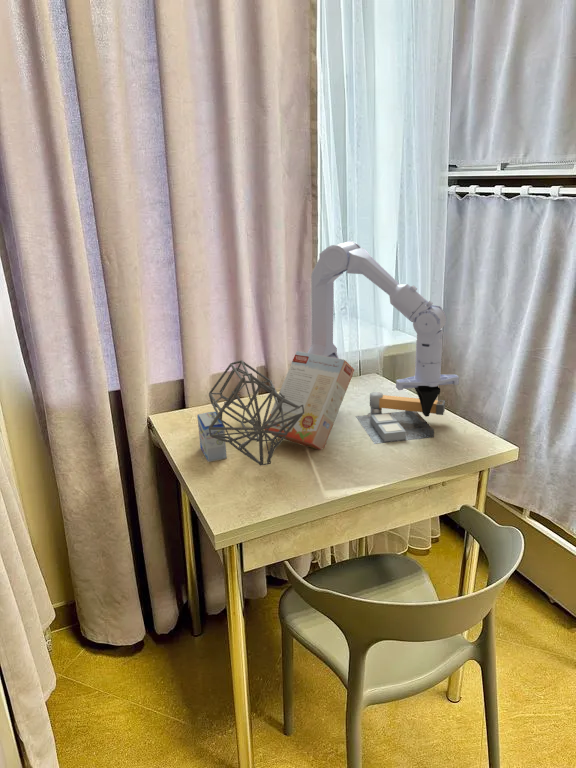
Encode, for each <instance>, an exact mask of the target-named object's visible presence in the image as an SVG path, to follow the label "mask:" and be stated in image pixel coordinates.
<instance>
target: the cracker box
mask: <svg viewBox="0 0 576 768" xmlns="http://www.w3.org/2000/svg"><path fill="white" fill-rule="evenodd" d="M338 358H339V357H338ZM338 358H333V357H327V356H322V355H316V354H311V353H308V352H305V351H300V350H299V351H298V350H296V352H295V354H294V357H293V359H292V361H291V364H290V367H289V368H288V371H287V373H286V376H285V378H284V380H283V383H282V384H281V387H280V389H279V391H278V395H279V396H281V395H280V394H279V393H281V394H282V395H284V396H285V399H287V400H288V401H290V402H292V403H294V404H296V405H298V406H301V405H303V407H304V414H303V415H302V416H301V417H300V419H299V420H298V421H297V422H296V424H295V425H294V426H293V427H292V429H291V430H290V431H289V432H288V434H287V435H286V436H285V435H278V437H277V439H281V438H282V437H283V436H285V439H284V441H288V442H290V443H293V444H297V445H300V446H303V447H308V448H311V449H314V450H318V451H319V450H322V449H324V448H325V446H326V444H327V441H328V438H329V436H330V434H331V431H332V428H333V426H334V424H335V421H336V418H337V416H338V414H339V410H340V407H342V406H341V405H342V402H343V400H344V399H345V398H344V397H345V396H346V393H347V390H348V388H349V385H350V382H351V380H352V377H353V374H354V372H355V369H354V368H353V366H351V364H350V363H348V362H347V360H346V359H343V358H339V359H338ZM281 397H282V396H281ZM276 400H277V399H276ZM277 401H278V400H277ZM276 407H277V404H276V401H275V400H274V404H273V405H272V408H271V411H270V412H269V413H270V414H268V418H269V417H270V415H271V414H272V413H273V411H274V410H275V408H276ZM282 409H283V414H285V413H287V412H289V411H291V410H293V409H295V407H293V406H291V405H288V404H286V403H282ZM302 412H303V410H302V407H300V408H299V409H296V410H294V411H292V412H290V413H288V414H286V415H284V419H287V418H289V417H292V416H295V415H297V414H300V413H302ZM278 413H279V409H278V410H277V412H276V413H275V414H274V416H273V417H272V419H271V420H270V421H272V420H274V418H275V417H276V416H277V414H278ZM279 416H281V413H280V414H279ZM279 416H278V417H279ZM281 420H282V418H279V419H277V420H275V421H274V423H276V422H278V421H281ZM292 420H293V419H292ZM292 420H289V421H286V422H284V425H286V424H288V423H289V422H290V421H292ZM271 423H272V422H271ZM271 423H269V424H267V425H270V424H271ZM291 425H292V424H291ZM291 425H289V426H288V427H286V428H285V430H286V431H287V429H288V428H289V427H290V426H291ZM282 427H283V426H282V423H281V424H278V425H275V426H272V427H270V428H269V430H268V431H275V432H279V430H280V429H281V428H282ZM264 430H267V429H264ZM282 433H285V432H284V430H282ZM271 435H272V436H273V437H274V436H275V435H276V434H271Z"/></svg>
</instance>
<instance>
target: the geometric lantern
mask: <svg viewBox="0 0 576 768" xmlns="http://www.w3.org/2000/svg"><path fill="white" fill-rule="evenodd" d="M236 364H238V367H235V366H234V365H236ZM241 366H242V368H243V369H241V368H240V367H241ZM230 368H232V369H231V371H230V373H229V375H228V377H227V378H226V380H225V381H224V382H223V385H222V387H221V388H220V390H219V392H214V391H215V389H216V388H217V386H218V385H219V384H220V382H221V381H222V380H223V378H224V377H225V375H226V374H227V373H228V371H229V370H230ZM247 368H248V369H250V370H251V371H253V372H254V373H255V374H257V375H258V376H259V377H261V378H262V379H264V380H265V381H262V380H260V379H259V378H257V377H255V376H254V375H253V373H252V372H251V373H249V372H248V369H247ZM234 374H236V375H237V377H238V378H239V382H238V383H237V385H236V387H235V388H234V389H233V390H231V394H230V396H229V397H226V396H224V395H223V392H224V390H225V389H226V387H227V385H228V383H229V382H230V381H231V379H232V377H233V375H234ZM241 374H242V376H241ZM246 377H247V379H248V380H246ZM266 383H269V384H270V385H268V384H266ZM248 384H250V385H251V389H252V394H253V395H252V396H251V393H250V390H249V387H248ZM255 385H256V386H257V388H256V387H255ZM244 386H245V388H246V392H247V395H248V399H249V402H248V403H247V404H246V405H245V403H244V402H243V401H242V399H241V398H240V396H239V395H238V394H239V392H240V391H241V390H242V388H243V387H244ZM261 388H262V389H263V390H264V391H266V392H267V393H269V394H268V395H267V397H266V398H265V399H264V401H263V402H262V404H261V405H260V406H259V403H258V398H257V397H258V396H257V395H258V393H259V391H260V389H261ZM210 389H211V390H210V391H209V392H208V397H209V401H210V404H211V405H212V407H213V410H214V412H216V414H217V416H216V417H215V419H214V420H213V422H212V423H211V425H210V426H209V433H210V436H211V437H212V438H215V439H218V440H221V441H224V442H225V443H228V444H229V445H231V446H232V447H234V449H236V450H237V451H238V452H240V453H242V455H245V456H246V457H248V458H249V459H251V460H252V461H254V462H255V463H256V464H258V465H259V466H262V467H263V466H267V465H271V464H272V460H271V459H272V457H273V455H274V453H275V450H276V448H277V447H278V446H279V445H280V444H281V443H282V442H283V440H284V439H285V436H286V435H287V434H288V432H289V431H290V430H291V429H292V427H293V426H294V425H295V424H296V422H297V421H298V420H299V419H300V417H301V416H302V415H303V414H304V407H303V405H301V406H298V405H296V404H294V403H292V402H290V401H288V400H287V399H285V396H284V395H282V394H281V393H279V392H277V389H276V388H275V386H274V384H273V382H272V380H271V379H270V378H268V377H266V376H265V375H263V374H262V373H261V372H259V371H258V370H256V369H255V368H254V367H253V366H251V365H249V364H248V363H246V362H245V361H243V360H236V361H234V362H230V363H229V365H228V366H227V367H226V369H225V371H223V373H222V374H221V376H220V377H219V378H218V380H217V381H216V383H215V384H214V385H213V387H212V388H210ZM278 394H280V395H281V396H282V397H281V396H279V395H278ZM213 395H220V397H218V398H217V399H216V398H215V397H214V396H213ZM273 398H274V402H275V401H276V404H277V407H276V408H275V410H274V411H273V413H272V414H271V415H270V414H269V413H270V412H269V411H270V407H271V404H272V401H273ZM221 399H223V400H225V401H224V403H223V405H222V407H221V406H220V405H219V403H218V402H219V401H220V400H221ZM276 399H277V400H278V401H277V400H276ZM235 400H237V401H238V402H236V401H235ZM253 401H254V404H253ZM267 402H268V403H267ZM266 403H267V406H266V410H265V414H264V417H263V420H261V414H260V413H261V410H262V409H263V407H264V406H265V404H266ZM282 403H286V404H288V405H291V406H293V407H295V409H293V410H291V411H289V412H287V413H285V414H283V409H282ZM230 405H234V406H236V407H238V408H240V409H242V414H241V413H240V412H238V411H236V410H235V409H234V408H232V407H230ZM250 407H251V409H252V412H253V415H252V412H251V411H250ZM254 407H255V408H254ZM300 407H302V410H303V412H302V413H300V414H297V415H295V416H292V417H289V418H287V419H284V415H286V414H288V413H290V412H292V411H294V410H296V409H299V408H300ZM225 409H228V410H229V411H230V412H231V413H233V414H235V415H237V416H238V417H239V418H241V420H240V419H239V418H237V417H235V416H234V415H233V414H231V413H230V412H228V411H227V410H225ZM278 409H279V413H278V414H277V416H276V417H275V418H274V420H272V421H270V420H271V419H272V417H273V416H274V414H275V413H276V412H277V410H278ZM245 413H246V414H247V415H248V416H249V418H250V419H248V418H247V417H245ZM280 413H281V416H279V414H280ZM223 414H225V415H227V416H229V417H231V418H232V419H233V420H236V422H238V423H240V425H241V426H240V427H238V426H237V427H236V426H233V425H231V424H229V423H228V422H226V421H224V420H223ZM269 415H270V417H269ZM278 416H279V417H278ZM267 417H268V418H267ZM218 418H219V420H220V421H221V423H222V425H223V427H213V426H214V424H215V423H216V421H217V420H218ZM279 418H282V420H281V421H278V422H276V423H274V421H275V420H277V419H279ZM292 419H293V420H292ZM289 420H292V421H290V422H289V423H288V424H286V425H284V422H286V421H289ZM271 422H272V423H271ZM247 423H248V424H250V425H251V426H252V427H247V426H245V424H247ZM269 423H271V424H270V425H267V424H269ZM281 423H282V426H283V427H282V428H281V429H280V430H279V432H275V431H268V430H269V428H270V427H272V426H275V425H278V424H281ZM291 424H292V425H291ZM225 425H226V426H225ZM289 425H291V426H290V427H289V428H288V429H287V431H286V430H285V428H286V427H288V426H289ZM264 429H267V430H264ZM211 430H225V432H226V433H225V434H218V435H213V434H211ZM282 430H284V432H285V433H282ZM229 431H236V432H231V433H230V432H229ZM269 434H271V435H272V434H276V435H275V436H273V437H271V436H270V435H269ZM222 435H225V436H222ZM230 435H241V436H238V437H237V436H236V437H234V438H233V437H232V436H230ZM278 435H285V436H283V437H282V438H279V440H278ZM224 438H225V439H224ZM244 438H245V439H246V438H247V439H248V440H246V441H244V442H242V443H241V442H239V440H242V439H244ZM252 441H256V442H258V446H259V447H258V448H259V451H258V452H259V459H257V458H256V456H254V454H252V453H251V452H250V451H249V450H248V449H247V448H246V447H247V446H248V445H249V444H250V443H251V442H252ZM284 441H285V440H284ZM264 442H265V445H266V450H267V459H266V463H264ZM268 442H271V443H270V447H269V444H268Z"/></svg>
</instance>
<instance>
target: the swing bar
mask: <svg viewBox="0 0 576 768" xmlns="http://www.w3.org/2000/svg"><path fill="white" fill-rule="evenodd" d="M369 406H370V408H371V407H372V408H382V409H387V410H396V411H397V410H398V411H415V412H418V413H423V412H422V406H421V403H420V399H419V397H418V398H415V397H406V396H399V395H398V396H397V395H396V396H395V395H387V394H386V395H385V394H384V393H382V392H380V391H378V392H377V391H373V392H370V393H369ZM445 407H446V400H445V399H444V400H443V399H438V400H437V399H436V400H435V401H434V403H433V406H432V408H431V411H430V414H435V415H439V416H444V414H445V409H446V408H445Z"/></svg>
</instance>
